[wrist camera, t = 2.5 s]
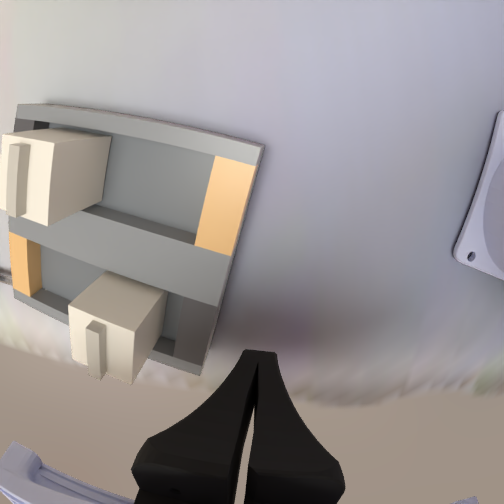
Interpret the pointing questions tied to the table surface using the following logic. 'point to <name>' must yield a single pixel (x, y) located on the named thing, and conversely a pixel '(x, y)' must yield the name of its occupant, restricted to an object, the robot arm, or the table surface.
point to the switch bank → (143, 224)
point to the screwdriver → (8, 280)
